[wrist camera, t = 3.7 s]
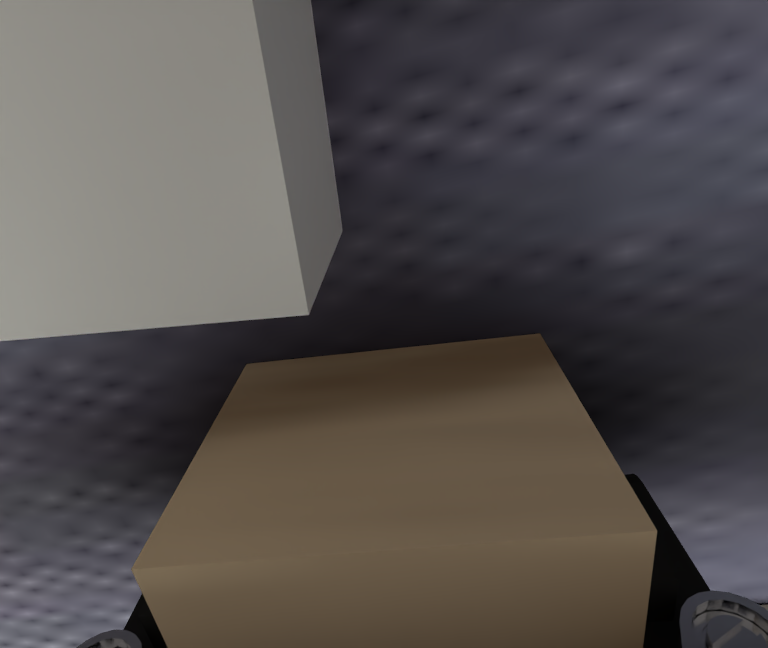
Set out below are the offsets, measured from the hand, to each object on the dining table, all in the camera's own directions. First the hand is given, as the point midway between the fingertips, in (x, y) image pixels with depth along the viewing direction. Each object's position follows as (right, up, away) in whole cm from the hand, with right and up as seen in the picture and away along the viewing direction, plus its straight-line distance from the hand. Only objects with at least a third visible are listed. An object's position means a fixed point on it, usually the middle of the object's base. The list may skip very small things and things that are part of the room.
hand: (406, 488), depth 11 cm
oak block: (0, 0, +1) cm, 1 cm away
